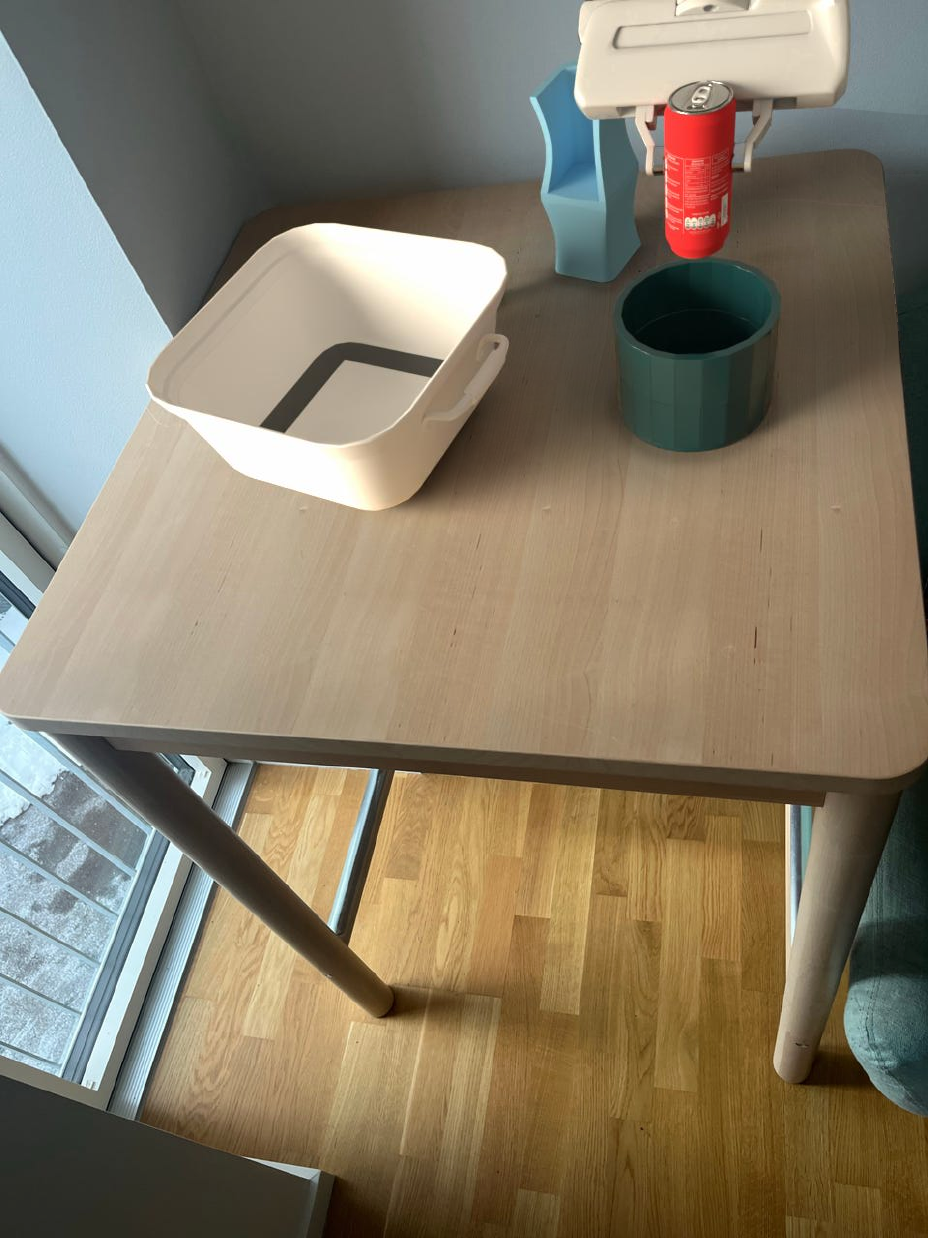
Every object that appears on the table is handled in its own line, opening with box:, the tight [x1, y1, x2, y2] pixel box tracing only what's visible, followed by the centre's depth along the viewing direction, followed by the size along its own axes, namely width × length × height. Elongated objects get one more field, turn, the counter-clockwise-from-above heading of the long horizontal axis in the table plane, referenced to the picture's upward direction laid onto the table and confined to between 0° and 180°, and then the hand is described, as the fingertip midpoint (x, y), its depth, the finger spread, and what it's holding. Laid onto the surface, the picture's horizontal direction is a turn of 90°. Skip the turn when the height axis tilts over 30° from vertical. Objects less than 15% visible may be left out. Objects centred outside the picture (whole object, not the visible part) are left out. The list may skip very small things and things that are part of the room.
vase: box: [529, 59, 642, 283], centre depth 99 cm, size 8×8×20 cm
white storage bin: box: [145, 222, 510, 512], centre depth 90 cm, size 34×29×15 cm
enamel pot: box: [611, 256, 782, 453], centre depth 86 cm, size 15×15×11 cm
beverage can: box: [663, 81, 737, 259], centre depth 72 cm, size 5×5×12 cm
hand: (698, 172), depth 71 cm, fingers closed on beverage can, 5 cm apart
